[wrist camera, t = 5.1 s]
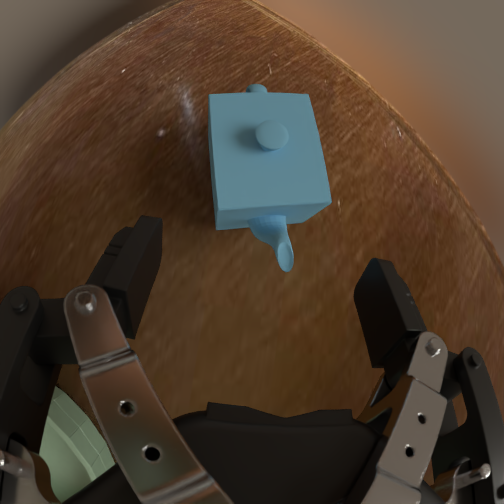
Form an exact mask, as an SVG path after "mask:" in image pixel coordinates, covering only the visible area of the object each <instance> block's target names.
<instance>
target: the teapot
mask: <svg viewBox="0 0 504 504" xmlns="http://www.w3.org/2000/svg"><path fill="white" fill-rule="evenodd" d="M208 140H209V154H210V167H211V180H212V191H213V203H214V213H215V224H216V230H225V229H235V228H246V227H250V229H251V231H252V233H253V234H254V236H255V237H256V238H257V239H259V240H260V241H262V242H265V243H267V244H269V245H271V246H272V247H273V249H274V251H275V255H276V258H277V261H278V263H279V265H280V267H281V269H282V270H283V271H285V272H289V271H290V270H291V269H292V266H293V250H292V246H291V243H290V240H289V236H288V233H287V225H286V224H293V223H303V222H304V221H306V220H307V219H309V218H310V217H312V216H313V215H315V214H316V213H318V212H319V211H320V210H322V209H323V208H325V207H326V206H328V205H329V204H331V203H332V200H331V195H330V189H329V183H328V177H327V172H326V167H325V162H324V157H323V152H322V147H321V143H320V138H319V134H318V130H317V126H316V121H315V117H314V113H313V110H312V106H311V102H310V99H309V95H308V94H294V93H267V90H266V88H265V87H264V86H263V85H260V84H252V85H249V86H248V87H247V89H246V93H226V94H209V95H208Z"/></svg>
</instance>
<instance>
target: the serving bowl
mask: <svg viewBox="0 0 504 504" xmlns="http://www.w3.org/2000/svg"><path fill="white" fill-rule="evenodd" d="M39 455H40V456H41V457H42V458H43V459H44V460H45V462H46V463H47V465H48V467H49V470H50V474H51V486H52V489H53V492H54V494H55V495H56V497H57V498H58V499H59V501H60V502H61V503H63V502H64V501H65V500H67V499H68V498H69V497H71V496H72V495H74V494H75V493H77V492H78V491H79V490H81V489H82V488H84V487H85V486H86V485H88V484H89V483H91V482H92V481H93V480H95V479H96V478H97V477H99V476H100V475H101V474H103V473H104V472H105V471H107V470H108V469H109V468H111V467H112V466H113V465H115V463H114V461H113V458H112V456H111V454H110V451H109V449H108V446H107V444H106V442H105V441H104V439H103V438H102V436H101V435H100V433H99V432H98V430H97V429H96V427H95V426H94V425H93V423H92V422H91V420H90V419H89V417H88V416H87V415H86V414H85V413H84V412H83V411H82V410H81V409H80V407H79V406H78V405H77V404H76V403H75V402H74V401H73V400H72V399H71V398H70V397H69V396H68V395H67V394H66V393H65V392H63V391H62V390H61V389H59V388H58V387H57V386H55V390H54V393H53V397H52V400H51V404H50V408H49V412H48V416H47V420H46V424H45V428H44V433H43V438H42V442H41V448H40V453H39Z"/></svg>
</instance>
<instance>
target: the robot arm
mask: <svg viewBox="0 0 504 504" xmlns="http://www.w3.org/2000/svg"><path fill="white" fill-rule="evenodd" d="M162 224H163V223H162V218H156V217H150V216H144V215H141V216H140V218H139V220H138V221H137V223H136V225H135V226H134V228H131V227H125V228H123V229H122V230H120V231H119V232H117V233H116V234H115V235H114V237H113V238H112V240H111V242H110V243H109V246H107V248H106V250H105V251H104V254H103V255H102V256H101V258H100V260H99V261H98V263H97V265H96V266H95V268H94V270H93V272H92V273H91V275H90V277H89V279H88V281H87V282H86V284H85V285H80V286H78V287H75V288H74V289H72V290H71V291H70V292H69V293H68V294H67V295H66V297H65V298H59V299H40V298H39V295H38V293H37V291H36V290H35V289H33V288H31V287H28V286H21V287H17V288H15V289H13V290H11V291H10V292H9V293H8V294H7V295H6V296H5V297H4V299H3V301H2V302H1V304H0V504H504V424H503V420H502V416H501V413H500V409H499V405H498V402H497V399H496V395H495V392H494V389H493V386H492V383H491V380H490V377H489V374H488V371H487V368H486V366H485V363H484V360H483V358H482V357H481V355H480V354H479V353H478V352H477V351H476V350H475V349H473V348H471V347H466V348H465V349H464V350H463V351H462V352H461V353H460V354H459V355H458V354H455V353H452V352H449V351H447V347H446V345H445V343H444V341H443V340H442V339H441V338H440V337H439V336H438V335H437V334H435V333H433V332H430V331H427V329H426V327H425V324H424V322H423V319H422V317H421V315H420V312H419V310H418V308H417V306H416V304H415V301H414V299H413V297H412V296H411V293H410V290H409V288H408V286H407V284H406V283H405V282H404V281H403V280H402V278H401V277H400V276H399V275H398V274H397V272H396V270H395V268H394V265H393V264H392V262H391V261H388V260H383V259H378V258H373V259H371V260H370V262H369V264H368V265H367V267H366V269H365V271H364V272H363V274H362V276H361V278H360V279H359V281H358V283H357V285H356V287H355V290H354V302H355V305H356V309H357V312H358V315H359V319H360V323H361V326H362V330H363V334H364V337H365V341H366V345H367V349H368V353H369V357H370V361H371V365H372V368H384V371H385V372H384V373H383V374H382V375H381V376H380V378H379V380H378V382H377V384H376V386H375V388H374V390H373V392H372V394H371V396H370V398H369V400H368V402H367V404H366V406H365V408H364V410H363V411H362V413H361V414H360V415H359V416H358V418H357V419H353V417H352V410H351V409H342V410H318V411H314V412H310V413H306V414H302V415H297V416H293V417H288V418H283V417H279V416H275V415H272V414H268V413H265V412H262V411H259V410H256V409H252V408H249V407H246V406H236V405H227V404H219V403H211V402H208V404H207V409H206V410H205V411H197V412H192V413H188V414H185V415H182V416H179V417H177V418H175V419H171V417H170V415H169V414H168V412H167V410H166V409H165V407H164V405H163V404H162V402H161V400H160V398H159V396H158V395H157V393H156V391H155V389H154V387H153V386H152V384H151V382H150V380H149V378H148V376H147V374H146V372H145V370H144V369H143V367H142V365H141V363H140V361H139V359H138V357H137V355H136V353H135V352H134V350H131V348H130V346H129V344H128V342H127V340H126V338H130V339H134V340H135V336H136V333H137V330H138V327H139V324H140V321H141V318H142V315H143V312H144V309H145V306H146V303H147V300H148V297H149V295H150V292H151V289H152V286H153V283H154V281H155V278H156V275H157V273H158V270H159V267H160V263H161V256H162ZM125 337H126V338H125ZM62 364H79V367H80V368H79V374H80V378H81V381H82V383H83V386H84V389H85V392H86V394H87V397H88V399H89V402H90V405H91V407H92V409H93V412H94V414H95V417H96V419H97V421H98V424H99V426H100V428H101V430H102V432H103V435H104V437H105V439H106V441H107V443H108V445H109V447H110V449H111V451H112V453H113V455H114V457H115V459H116V461H117V463H116V464H115V465H113V466H112V467H111V468H109V469H108V470H107V471H105V472H104V473H103V474H101V475H100V476H99V477H97V478H96V479H95V480H93V481H92V482H91V483H89V484H88V485H86V486H85V487H84V488H82V489H81V490H79V491H78V492H77V493H75V494H74V495H72V496H71V497H69V498H68V499H67V500H65V501H64V502H63V503H61V502H60V501H59V499H58V498H57V497H56V495H55V494H54V492H53V489H52V486H51V474H50V470H49V467H48V465H47V463H46V462H45V460H44V459H43V458H42V457H41V456H40V455H39V453H40V448H41V442H42V438H43V433H44V428H45V424H46V420H47V416H48V412H49V408H50V404H51V400H52V397H53V393H54V390H55V386H56V383H57V379H58V376H59V373H60V370H61V367H62ZM460 393H462V394H463V398H464V402H465V405H466V409H467V419H466V421H465V423H464V424H463V425H461V426H460V427H458V423H457V419H456V415H455V410H454V406H453V402H452V399H454V398H455V397H456V396H458V395H459V394H460ZM430 459H432V467H433V476H434V484H433V485H431V486H429V485H428V484H427V483H426V482H425V481H424V480H423V477H424V474H425V472H426V469H427V467H428V464H429V461H430Z"/></svg>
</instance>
